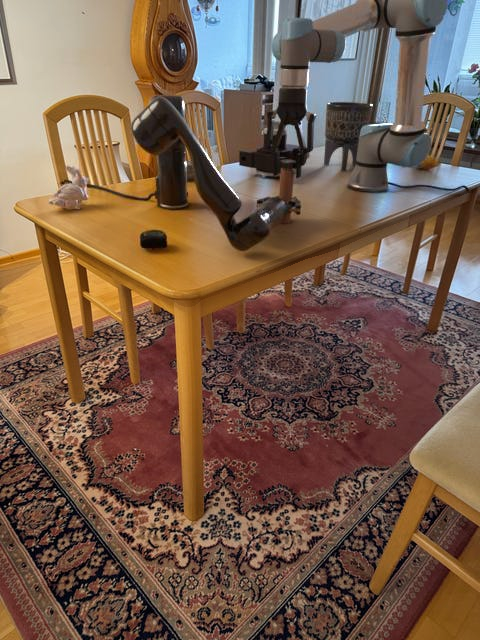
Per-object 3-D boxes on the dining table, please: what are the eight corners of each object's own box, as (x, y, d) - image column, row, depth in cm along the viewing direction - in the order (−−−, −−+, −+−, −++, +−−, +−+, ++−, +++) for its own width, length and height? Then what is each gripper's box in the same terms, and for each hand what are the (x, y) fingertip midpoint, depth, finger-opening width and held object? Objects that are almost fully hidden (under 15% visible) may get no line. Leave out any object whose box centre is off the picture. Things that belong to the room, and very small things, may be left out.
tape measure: (140, 252, 115) (139, 238, 113) (141, 242, 120) (140, 229, 119) (167, 251, 116) (166, 237, 114) (167, 241, 121) (166, 228, 120)
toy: (413, 162, 205) (407, 155, 217) (415, 176, 208) (410, 168, 220) (439, 154, 201) (432, 147, 214) (441, 168, 204) (434, 161, 217)
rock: (201, 174, 190) (201, 158, 187) (214, 178, 185) (214, 162, 181) (174, 179, 183) (173, 162, 179) (187, 183, 177) (186, 166, 174)
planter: (313, 167, 208) (319, 103, 195) (331, 160, 222) (338, 101, 209) (353, 173, 199) (362, 107, 185) (369, 166, 213) (379, 104, 199)
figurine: (98, 204, 150) (92, 164, 144) (60, 215, 140) (52, 173, 133) (82, 200, 154) (76, 161, 148) (43, 210, 143) (35, 169, 137)
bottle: (290, 219, 141) (295, 163, 132) (289, 223, 137) (294, 166, 129) (278, 218, 141) (281, 162, 133) (276, 222, 138) (280, 165, 130)
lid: (290, 169, 129) (291, 163, 128) (276, 167, 131) (276, 161, 130) (298, 166, 132) (299, 160, 131) (284, 164, 134) (285, 158, 133)
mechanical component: (240, 120, 182) (283, 115, 202) (239, 174, 192) (280, 164, 212) (283, 126, 170) (325, 120, 190) (280, 183, 180) (320, 171, 200)
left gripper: (296, 204, 121) (311, 189, 135) (246, 197, 125) (266, 184, 139) (293, 231, 125) (309, 214, 138) (245, 224, 129) (265, 208, 143)
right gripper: (331, 88, 121) (321, 176, 133) (264, 85, 127) (260, 170, 139) (325, 89, 115) (316, 182, 127) (254, 86, 121) (252, 175, 133)
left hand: (287, 199), depth 139 cm, fingers closed on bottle, 4 cm apart
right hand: (287, 175), depth 133 cm, fingers open, 6 cm apart
